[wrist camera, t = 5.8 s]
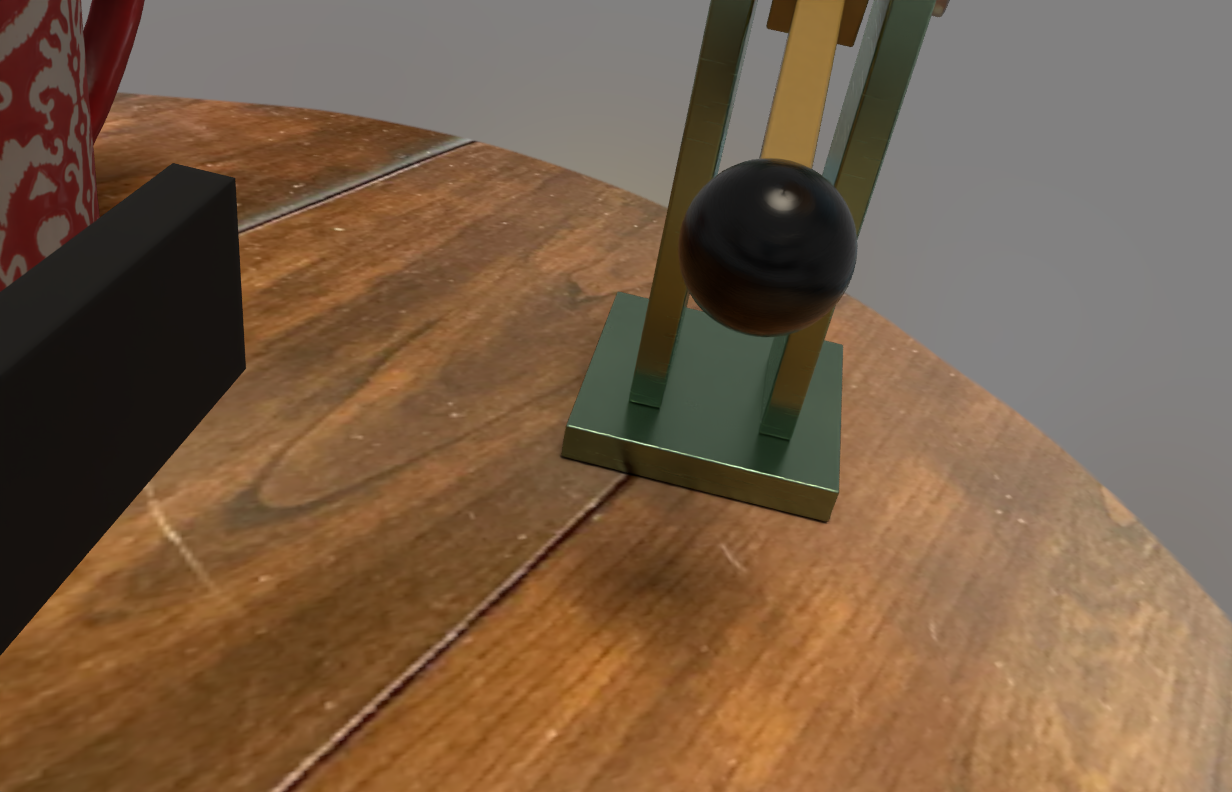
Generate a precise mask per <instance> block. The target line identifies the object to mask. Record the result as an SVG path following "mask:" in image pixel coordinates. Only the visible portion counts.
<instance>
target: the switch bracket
mask: <svg viewBox="0 0 1232 792" xmlns="http://www.w3.org/2000/svg"><path fill="white" fill-rule="evenodd" d="M949 1H950V0H874V2H873V5H872V9H871V12H870V15H869V19H868V22H867V25H866V29H865V33H864V35H863V39H862V42H861V46H860V49H859V53H858V56H857V59H856V63H855V66H854V69H853V73H852V76H851V79H850V83H849V86H848V90H847V93H846V96H845V100H844V103H843V106H842V110H841V113H840V117H839V120H838V123H837V127H836V130H835V134H834V137H833V140H832V144H831V147H830V151H829V154H828V157H827V161H826V164H825V167H824V171H823V174H822V176H823V177H825V178H826V179H827V180H828V181H829V182H830V183H831V184H832V185H833V186H834V187H835V188H836V189H837V190H838V192H839V193H840V194H841V196H842V197H843V198H844V200H845V202H846V204H847V205H848V207H849V210H850V212H851V215H852V217H853V220H854V224H855V228H856V235H857V239H858V236H859V233H860V230H861V227H862V224H863V221H864V218H865V215H866V212H867V209H868V206H869V203H870V200H871V197H872V194H873V191H874V188H875V185H876V181H877V178H878V175H879V173H880V170H881V166H882V163H883V160H884V157H885V154H886V151H887V148H888V145H889V142H890V139H891V136H892V133H893V130H894V127H895V124H896V121H897V118H898V115H899V112H900V109H901V106H902V103H903V100H904V97H905V94H906V91H907V88H908V85H909V81H910V79H911V75H912V72H913V69H914V67H915V64H916V61H917V57H918V55H919V51H920V48H921V45H922V42H923V39H924V36H925V33H926V30H927V27H928V24H929V21H930V18H931V16H935V17H941V16H942V15H943V14H944V12H945V10H946V8H947V6H948V3H949ZM757 2H758V0H711V2H710V7H709V11H708V16H707V21H706V26H705V31H704V36H703V41H702V45H701V50H700V55H699V60H698V65H697V70H696V75H695V79H694V84H693V89H692V94H691V99H690V104H689V108H688V113H687V119H686V123H685V128H684V133H683V138H682V142H681V147H680V152H679V158H678V162H677V167H676V172H675V176H674V181H673V186H672V191H671V196H670V201H669V206H668V210H667V215H666V220H665V225H664V229H663V234H662V239H661V244H660V249H659V254H658V259H657V263H656V268H655V273H654V278H653V283H652V288H651V292H650V297H649V299H648V298H643V297H639V296H635V295H631V294H627V293H622V292H617V294H616V297H615V299H614V302H613V305H612V307H611V310H610V312H609V315H608V318H607V320H606V323H605V325H604V328H603V331H602V333H601V336H600V338H599V341H598V344H597V346H596V349H595V352H594V354H593V357H592V359H591V362H590V365H589V367H588V370H587V372H586V375H585V378H584V380H583V383H582V385H581V388H580V391H579V393H578V396H577V398H576V401H575V404H574V406H573V409H572V412H571V414H570V417H569V419H568V422H567V425H566V429H565V435H564V441H563V447H562V453H561V454H562V456H563V457H567V458H571V459H575V460H579V461H583V462H587V463H591V464H595V465H599V466H603V467H607V468H611V469H615V470H619V471H623V472H627V473H631V474H635V475H639V476H643V477H647V478H651V479H655V480H659V481H663V482H668V483H672V484H676V485H680V486H684V487H688V488H692V489H696V490H700V491H704V492H708V493H712V494H716V495H720V496H724V497H728V498H732V499H736V500H740V501H744V502H748V503H752V504H756V505H760V506H764V507H768V508H773V509H777V510H781V511H785V512H789V513H793V514H797V515H801V516H805V517H809V518H813V519H817V520H821V521H825V522H827V521H828V520H829V518H830V515H831V512H832V510H833V507H834V505H835V502H836V499H837V497H838V494H839V474H840V438H841V403H842V368H843V345H842V344H837V343H833V342H829V341H825V340H824V339H825V336H826V333H827V330H828V327H829V324H830V321H831V318H832V315H833V312H834V309H835V306H836V305H835V306H834V307H833V308H832V309H831V310H830V311H829V312H828V313H827V314H826V315H825V316H824V317H823V318H821V319H820V320H818V321H817V322H815V323H814V324H812V325H811V326H809V327H807V328H805V329H803V330H800V331H798V332H795V333H791V334H788V335H784V336H778V337H755V336H749V335H744V334H741V333H738V332H735V331H732V330H730V329H728V328H726V327H724V326H722V325H720V324H719V323H717V322H716V321H714V320H713V319H711V318H710V317H709V316H708V315H707V314H706V313H705V312H703V311H698V310H694V309H690V308H687V303H688V299H689V295H690V293H689V291H688V289H687V287H686V285H685V282H684V280H683V276H682V273H681V270H680V263H679V256H678V244H679V235H680V229H681V226H682V222H683V219H684V217H685V214H686V212H687V210H688V208H689V206H690V204H691V203H692V201H693V199H694V198H695V196H696V195H697V194H698V193H699V191H700V190H701V189H702V188H703V187H704V186H705V185H706V184H707V183H708V182H709V181H710V180H711V179H713V178H714V177H715V176H717V174H718V170H719V165H720V161H721V157H722V152H723V148H724V144H725V140H726V135H727V130H728V127H729V122H730V118H731V114H732V109H733V105H734V100H735V97H736V92H737V87H738V83H739V79H740V75H741V70H742V66H743V62H744V58H745V54H746V49H747V44H748V41H749V36H750V32H751V28H752V23H753V19H754V15H755V10H756V6H757Z"/></svg>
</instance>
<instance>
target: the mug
mask: <svg viewBox="0 0 1232 792" xmlns="http://www.w3.org/2000/svg"><path fill="white" fill-rule="evenodd" d="M144 1H145V0H92V3H91V6H90V11H89V15H88V19H87V22H86V25H85V27H84V31H83V24H82V9H81V0H0V292H1V291H2V290H3V289H5V288H6V287H7V286H9V285H10V284H11V283H13V282H14V281H15V280H17V279H18V278H19V277H21V276H22V275H23V274H25V273H26V272H28V271H29V270H30V269H32V268H33V267H34V266H36V265H37V264H38V263H40V262H41V261H42V260H44V259H45V258H46V257H48V256H49V255H50V254H52V253H53V252H54V251H56V250H57V249H58V248H60V247H61V246H62V245H64V244H65V243H66V242H68V241H69V240H70V239H72V238H73V237H74V236H76V235H77V234H78V233H80V232H81V231H83V230H84V229H85V228H87V227H88V226H89V225H91V224H92V223H93V222H95V221H96V220H97V219H99V206H98V198H97V187H96V174H95V161H94V149H93V145H94V143H95V141H96V138H97V136H98V134H99V132H100V131H101V129H102V127H103V125H104V122H105V120H106V118H107V116H108V113H109V111H110V109H111V106H112V104H113V101H114V98H115V96H116V93H117V90H118V87H119V84H120V82H121V79H122V77H123V74H124V71H125V68H126V65H127V62H128V59H129V55H130V53H131V50H132V47H133V43H134V40H135V37H136V33H137V29H138V26H139V23H140V19H141V15H142V11H143V6H144Z"/></svg>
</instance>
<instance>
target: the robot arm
mask: <svg viewBox="0 0 1232 792" xmlns="http://www.w3.org/2000/svg"><path fill="white" fill-rule="evenodd" d="M245 369H246V363H245V345H244V327H243V309H242V291H241V273H240V255H239V238H238V220H237V202H236V184H235V178H233V177H229V176H225V175H221V174H216V173H212V172H208V171H204V170H200V169H196V168H191V167H187V166H183V165H179V164H175V163H172V164H171V165H170V166H168V167H167V168H166V169H164V170H163V171H162V172H160V173H159V174H158V175H156V176H155V177H154V178H152V179H151V180H150V181H148V182H147V183H146V184H144V185H143V186H142V187H140V188H139V189H138V190H136V191H135V192H133V193H132V194H131V195H129V196H128V197H127V198H125V199H124V200H123V201H121V202H120V203H119V204H117V205H116V206H115V207H113V208H112V209H111V210H109V211H108V212H107V213H105V214H104V215H103V216H101V217H100V218H99V219H97V220H96V221H95V222H93V223H92V224H91V225H89V226H88V227H87V228H85V229H84V230H83V231H81V232H80V233H78V234H77V235H76V236H74V237H73V238H72V239H70V240H69V241H68V242H66V243H65V244H64V245H62V246H61V247H60V248H58V249H57V250H56V251H54V252H53V253H52V254H50V255H49V256H48V257H46V258H45V259H44V260H42V261H41V262H40V263H38V264H37V265H36V266H34V267H33V268H32V269H30V270H29V271H28V272H26V273H25V274H23V275H22V276H21V277H19V278H18V279H17V280H15V281H14V282H13V283H11V284H10V285H9V286H7V287H6V288H5V289H3V290H2V291H1V292H0V655H1V654H2V653H3V652H4V651H5V650H6V648H7V647H8V646H9V645H10V644H11V643H12V641H13V640H14V639H15V638H16V637H17V636H18V634H19V633H20V632H21V631H22V630H23V628H24V627H25V626H26V625H27V624H28V623H29V621H30V620H31V619H32V618H33V617H34V616H35V614H36V613H37V612H38V611H39V610H40V609H41V607H42V606H43V605H44V604H45V603H46V602H47V600H48V599H49V598H50V597H51V596H52V595H53V593H54V592H55V591H56V590H57V589H58V588H59V586H60V585H61V584H62V583H63V582H64V581H65V579H66V578H67V577H68V576H69V575H70V574H71V572H72V571H73V570H74V569H75V568H76V567H77V565H78V564H79V563H80V562H81V561H82V560H83V558H84V557H85V556H86V555H87V554H88V553H89V551H90V550H91V549H92V548H93V547H94V546H95V544H96V543H97V542H98V541H99V540H100V539H101V537H102V536H103V535H104V534H105V533H106V532H107V530H108V529H109V528H110V527H111V526H112V524H113V523H114V522H115V521H116V520H117V519H118V517H119V516H120V515H121V514H122V513H123V512H124V510H125V509H126V508H127V507H128V506H129V505H130V503H131V502H132V501H133V500H134V499H135V498H136V496H137V495H138V494H139V493H140V492H141V491H142V489H143V488H144V487H145V486H146V485H147V484H148V482H149V481H150V480H151V479H152V478H153V477H154V475H155V474H156V473H157V472H158V471H159V470H160V468H161V467H162V466H163V465H164V464H165V463H166V461H167V460H168V459H169V458H170V457H171V456H172V454H173V453H174V452H175V451H176V450H177V449H178V447H179V446H180V445H181V444H182V443H183V442H184V440H185V439H186V438H187V437H188V436H189V435H190V433H191V432H192V431H193V430H194V429H195V428H196V426H197V425H198V424H199V423H200V422H201V420H202V419H203V418H204V417H205V416H206V415H207V413H208V412H209V411H210V410H211V409H212V408H213V406H214V405H215V404H216V403H217V402H218V401H219V399H220V398H221V397H222V396H223V395H224V394H225V392H226V391H227V390H228V389H229V388H230V387H231V385H232V384H233V383H234V382H235V381H236V380H237V378H238V377H239V376H240V375H241V374H242V373H243V371H244V370H245Z"/></svg>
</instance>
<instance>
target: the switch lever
mask: <svg viewBox="0 0 1232 792" xmlns="http://www.w3.org/2000/svg"><path fill="white" fill-rule="evenodd" d="M868 1H869V0H773V1H772V5H771V9H770V13H769V17H768V21H767V28H768V29H771V30H776V31H780V32H785V33H788V37H787V41H786V45H785V50H784V54H783V58H782V63H781V67H780V71H779V75H778V80H777V84H776V89H775V93H774V97H773V101H772V106H771V110H770V114H769V119H768V123H767V127H766V132H765V136H764V140H763V145H762V149H761V154H760V158H759V159H755V160H749V161H745V162H742V163H740V164H737V165H734V166H732V167H730V168H728V169H726V170H724V171H722V172H721V173H720V174H718V175H717V176H715V177H714V178H713V179H711V180H710V181H709V182H708V183H707V184H706V185H705V186H704V187H703V188H702V189H701V190H700V191H699V193H698V194H697V195H696V196H695V198H694V199H693V201H692V203H691V204H690V206H689V208H688V210H687V212H686V214H685V217H684V219H683V222H682V226H681V229H680V235H679V244H678V256H679V263H680V270H681V273H682V276H683V280H684V282H685V285H686V287H687V289H688V291H689V293H690V294H691V296H692V298H693V299H694V301H695V302H696V303H697V304H698V306H699V307H700V308H701V309H702V310H703V311H704V312H705V313H706V314H707V315H708V316H709V317H710V318H711V319H713V320H714V321H716V322H717V323H719V324H720V325H722V326H724V327H726V328H728V329H730V330H732V331H735V332H738V333H741V334H744V335H749V336H755V337H778V336H784V335H788V334H791V333H795V332H798V331H800V330H803V329H805V328H807V327H809V326H811V325H812V324H814V323H815V322H817V321H818V320H820V319H821V318H823V317H824V316H825V315H826V314H827V313H828V312H829V311H830V310H831V309H832V308H833V307H834V306H835V305H836V304H837V303H838V301H839V300H840V299H841V297H842V295H843V294H844V292H845V291H846V289H847V287H848V285H849V283H850V280H851V278H852V275H853V272H854V268H855V264H856V257H857V235H856V228H855V224H854V220H853V217H852V215H851V212H850V210H849V207H848V205H847V204H846V202H845V200H844V198H843V197H842V196H841V194H840V193H839V192H838V190H837V189H836V188H835V187H834V186H833V185H832V184H831V183H830V182H829V181H828V180H827V179H826V178H825V177H823V176H822V175H820V174H819V173H817V172H816V171H814V170H813V169H812V166H813V162H814V156H815V151H816V146H817V141H818V136H819V131H820V126H821V121H822V116H823V111H824V106H825V101H826V96H827V91H828V86H829V80H830V76H831V70H832V66H833V60H834V55H835V50H836V45H837V44H840V45H844V46H849V47H852V46H853V45H854V42H855V40H856V37H857V34H858V30H859V27H860V25H861V22H862V19H863V16H864V13H865V10H866V7H867V4H868Z"/></svg>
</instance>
